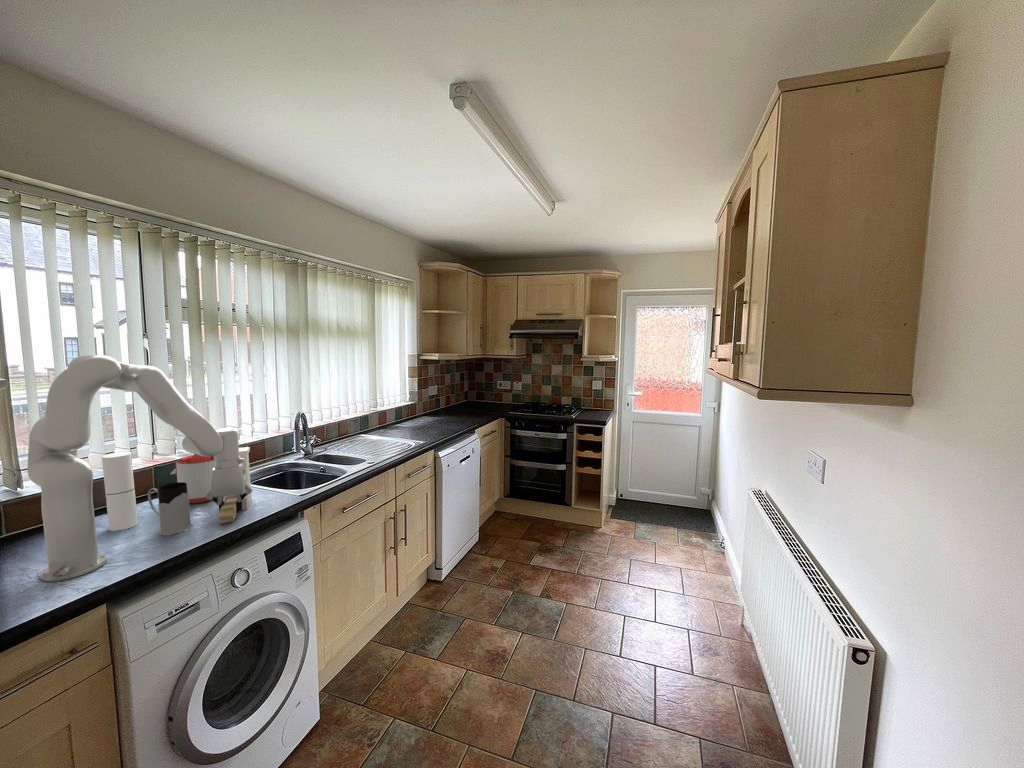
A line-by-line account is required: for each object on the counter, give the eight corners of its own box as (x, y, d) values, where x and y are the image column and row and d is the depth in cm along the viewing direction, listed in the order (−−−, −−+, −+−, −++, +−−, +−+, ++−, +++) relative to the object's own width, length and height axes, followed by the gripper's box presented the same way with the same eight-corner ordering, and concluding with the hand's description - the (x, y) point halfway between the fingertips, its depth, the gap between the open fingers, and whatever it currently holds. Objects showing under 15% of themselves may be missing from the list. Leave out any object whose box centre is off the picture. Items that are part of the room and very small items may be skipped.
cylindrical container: (120, 532, 137) (112, 458, 135) (103, 530, 139) (95, 457, 136) (143, 523, 144) (136, 452, 142) (127, 521, 146) (120, 451, 143)
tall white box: (248, 509, 155) (244, 453, 153) (218, 513, 152) (214, 456, 150) (253, 500, 165) (249, 446, 163) (225, 503, 161) (221, 449, 159)
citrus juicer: (179, 496, 170) (175, 448, 168) (230, 489, 177) (226, 443, 175) (167, 509, 156) (162, 457, 154) (222, 502, 163) (218, 452, 161)
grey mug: (174, 536, 134) (170, 491, 133) (138, 533, 136) (133, 488, 135) (199, 524, 143) (195, 482, 141) (164, 522, 145) (160, 480, 144)
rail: (233, 521, 142) (232, 510, 142) (219, 523, 141) (218, 512, 140) (242, 504, 158) (241, 494, 157) (229, 506, 156) (228, 496, 156)
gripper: (256, 457, 154) (259, 505, 156) (201, 463, 147) (205, 513, 149) (253, 463, 147) (256, 512, 149) (195, 469, 140) (199, 521, 142)
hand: (231, 512), depth 149 cm, fingers closed on rail, 4 cm apart
